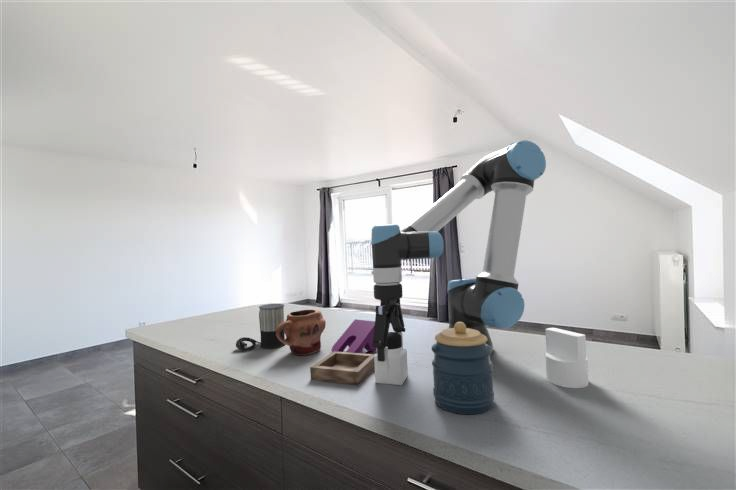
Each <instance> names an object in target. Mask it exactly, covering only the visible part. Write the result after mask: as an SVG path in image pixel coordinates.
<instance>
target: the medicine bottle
mask: <svg viewBox="0 0 736 490" xmlns="http://www.w3.org/2000/svg"><path fill="white" fill-rule="evenodd" d="M402 336H403V335H402ZM402 336H401V335H400V334H399V333H396V332H395V331H389V332H388V338H387V343H386V347H388V366H389V374H379V373H377V353H375V356H374V363H375V369H374V377H375V378H374V380H375V384H382V385H383V384H384V385H395V386H402V385H403V384H404V383H405V380H406V379H407V376H408V374H409V373H408V372H409V371H408V351H407V349H406V348H403V349H402ZM379 342H380V341H379Z"/></svg>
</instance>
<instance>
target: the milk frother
mask: <svg viewBox="0 0 736 490" xmlns="http://www.w3.org/2000/svg"><path fill="white" fill-rule="evenodd" d="M284 307H285V304H283V303H268V304H263V305H260V306H258V309H259V310H258V311H259V312H258V319H259V331H260V342H259V341H258V340H255V339H253V338H251V337H247V336H246V337H240V338H239V339H237V340H236V343H235V347H236V349H238V350H240V351H251V350H254V349H255V348H256V347H257V344H259V347H260V348H261V349H277V348H281V347H283V346H285V345H286V344H284V343H282V342H281V341H280V340H279V339H278V338H277V336H276V329H277V327H278V325H279V324H281V323H282V322H285V308H284ZM280 336H281V338H282V339H283V340H285V339H286V338H285V337H286V335H285V333H284V328H283V329H282V330H281V332H280ZM245 342H249V343H251V344H252V345H251V346H248V343H245Z"/></svg>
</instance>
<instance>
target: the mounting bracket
mask: <svg viewBox="0 0 736 490" xmlns="http://www.w3.org/2000/svg"><path fill="white" fill-rule="evenodd" d="M374 326H375V320H374V321H373V320H365V319H364V320H363V319H354V320H353V321H352V322H351V324H350V325H349V326H348V327H347V329H346V330H344V332H343V333H342V335H341V336H339V338H337V341H335V343H334V344H333V346H331V353H332V352H333V351H336V352H349V353H361V352H362V351H363V349H364V350H366V352H372V353H374V351H375V352H376V347H372V344H373V335H374ZM347 347H348V348H347Z"/></svg>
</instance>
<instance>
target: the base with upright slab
mask: <svg viewBox="0 0 736 490" xmlns="http://www.w3.org/2000/svg"><path fill="white" fill-rule="evenodd" d="M544 331H545V347H546V349H545V351H546V352H545V354H544V355H545V357H544V358H545V377H546V380H547V381H548V382H549V383H551V384H553V385H556V386H559V387H563V388H569V389H570V388H571V389H581V388H586V387H588V386H589V369H588V368H589V366H588V365H589V364H588V357H587V344H586V343H587V341H586V340H587V339H586V334H583V333H579V332H574V331H571V330H566V329H562V328H558V327H548V328H547V327H546V328H545V330H544Z"/></svg>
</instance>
